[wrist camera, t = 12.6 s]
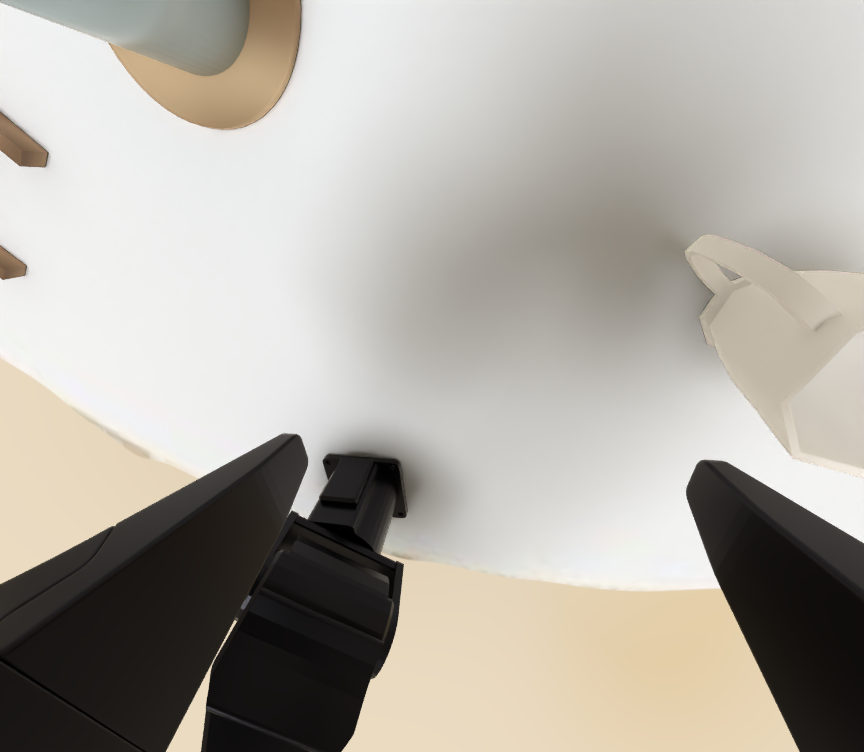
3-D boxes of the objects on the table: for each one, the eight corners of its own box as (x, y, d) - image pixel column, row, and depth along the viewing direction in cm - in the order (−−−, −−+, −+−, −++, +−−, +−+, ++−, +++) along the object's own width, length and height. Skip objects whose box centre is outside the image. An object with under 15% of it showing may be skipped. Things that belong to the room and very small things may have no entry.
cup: (725, 393, 19) (853, 509, 12) (601, 289, 18) (669, 355, 11) (872, 300, 16) (1163, 388, 9) (735, 160, 14) (964, 133, 7)
